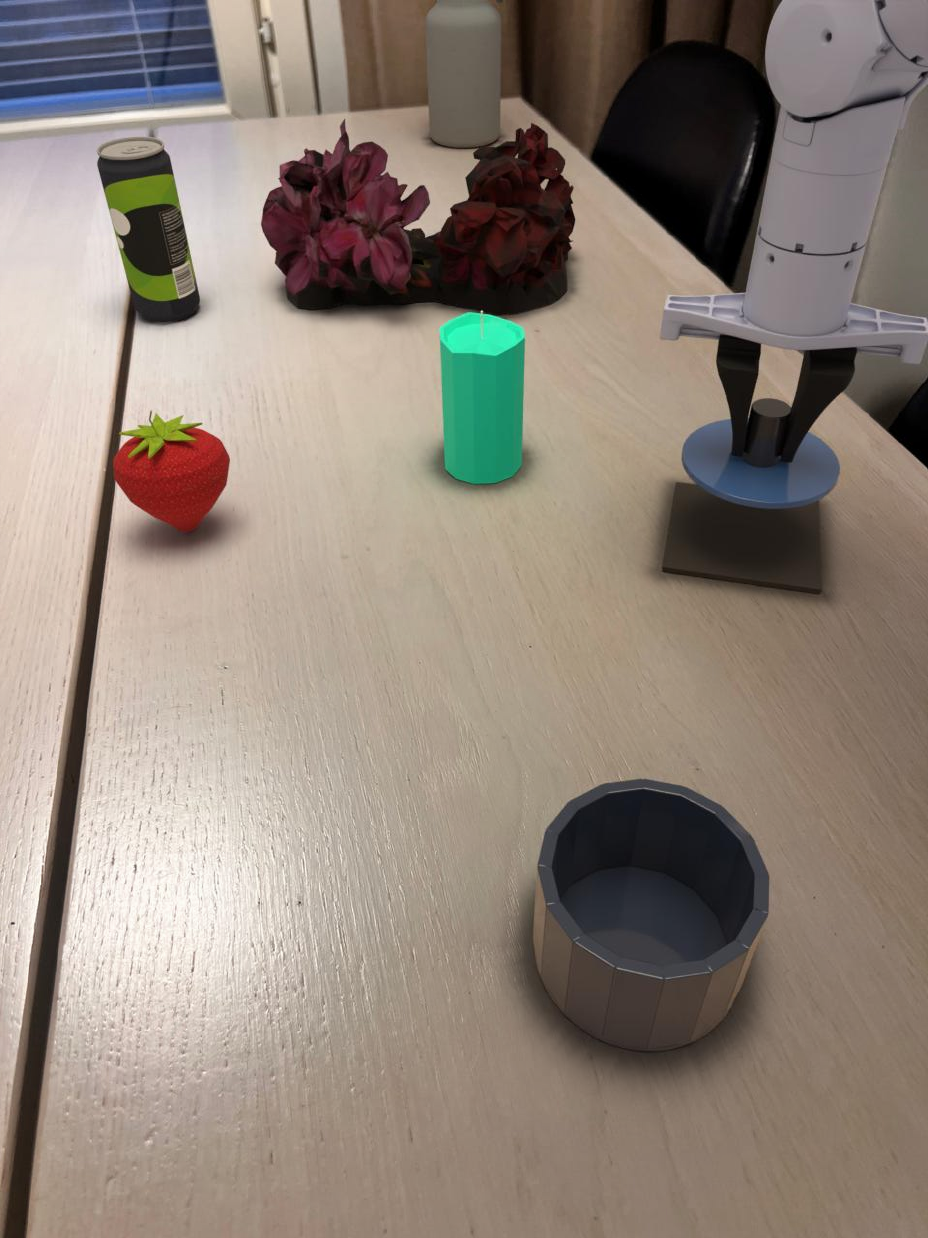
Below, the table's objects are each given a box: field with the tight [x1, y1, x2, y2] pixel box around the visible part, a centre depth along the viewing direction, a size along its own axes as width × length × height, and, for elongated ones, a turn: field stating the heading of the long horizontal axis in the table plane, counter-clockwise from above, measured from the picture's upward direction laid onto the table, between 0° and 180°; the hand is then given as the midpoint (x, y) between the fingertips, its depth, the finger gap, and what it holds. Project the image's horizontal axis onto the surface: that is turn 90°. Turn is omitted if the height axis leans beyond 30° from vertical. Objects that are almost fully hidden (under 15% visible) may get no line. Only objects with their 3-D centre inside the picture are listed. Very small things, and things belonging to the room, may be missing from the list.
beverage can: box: [96, 136, 201, 324], centre depth 88 cm, size 6×6×15 cm
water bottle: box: [425, 0, 504, 149], centre depth 122 cm, size 10×10×28 cm
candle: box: [439, 311, 526, 485], centre depth 68 cm, size 6×6×12 cm
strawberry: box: [112, 410, 231, 533], centre depth 63 cm, size 6×8×10 cm
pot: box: [532, 778, 770, 1052], centre depth 41 cm, size 9×9×6 cm
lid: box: [681, 397, 841, 509], centre depth 60 cm, size 10×10×5 cm
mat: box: [661, 481, 823, 595], centre depth 65 cm, size 10×10×1 cm
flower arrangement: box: [260, 118, 576, 316], centre depth 91 cm, size 31×20×15 cm, turn 99°
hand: (762, 450), depth 60 cm, fingers closed on lid, 2 cm apart
